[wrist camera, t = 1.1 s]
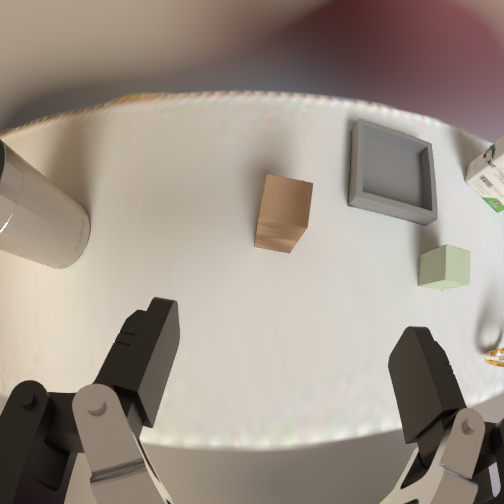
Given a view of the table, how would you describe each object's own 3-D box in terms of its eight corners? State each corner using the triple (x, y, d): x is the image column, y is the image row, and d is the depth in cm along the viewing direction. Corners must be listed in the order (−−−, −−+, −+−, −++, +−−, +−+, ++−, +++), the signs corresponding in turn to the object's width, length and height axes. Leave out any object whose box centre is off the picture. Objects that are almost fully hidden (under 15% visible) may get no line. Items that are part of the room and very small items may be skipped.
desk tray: (347, 205, 35) (355, 196, 32) (351, 130, 37) (357, 118, 34) (425, 225, 35) (437, 218, 32) (421, 153, 37) (431, 143, 34)
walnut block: (254, 246, 34) (258, 217, 24) (260, 213, 34) (266, 173, 25) (289, 253, 34) (307, 227, 24) (294, 220, 34) (313, 183, 25)
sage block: (417, 286, 33) (445, 279, 27) (419, 255, 34) (446, 244, 28) (441, 290, 33) (469, 284, 27) (442, 260, 34) (469, 250, 28)
